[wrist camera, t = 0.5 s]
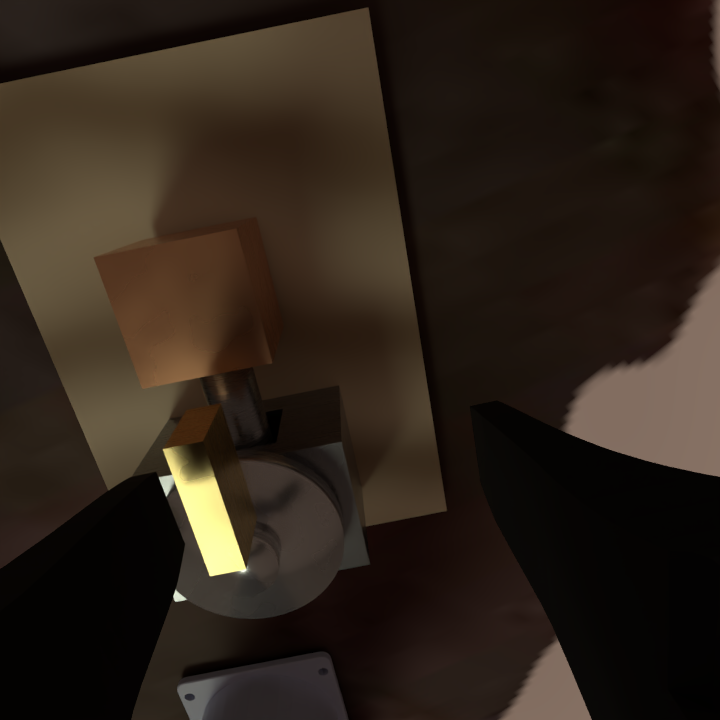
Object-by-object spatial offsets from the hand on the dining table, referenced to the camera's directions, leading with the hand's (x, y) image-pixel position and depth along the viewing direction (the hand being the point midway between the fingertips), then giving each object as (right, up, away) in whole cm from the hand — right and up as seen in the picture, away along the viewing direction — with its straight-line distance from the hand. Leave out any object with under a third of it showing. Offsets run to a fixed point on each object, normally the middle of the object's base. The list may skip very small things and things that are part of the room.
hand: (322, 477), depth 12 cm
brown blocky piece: (-4, +2, +8) cm, 9 cm away
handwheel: (-3, -2, +5) cm, 6 cm away
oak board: (-4, +4, +9) cm, 10 cm away
